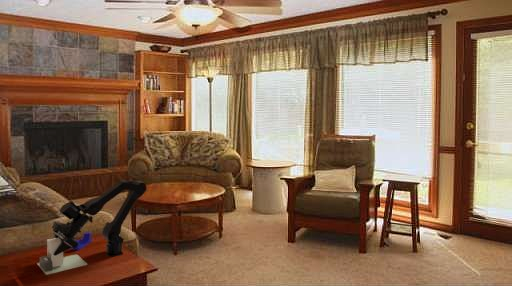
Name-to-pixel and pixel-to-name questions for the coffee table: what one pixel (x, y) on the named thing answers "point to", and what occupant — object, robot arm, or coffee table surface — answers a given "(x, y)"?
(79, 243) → the cable clip
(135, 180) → the robot arm
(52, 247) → the plug housing
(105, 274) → the coffee table surface
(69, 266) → the board
